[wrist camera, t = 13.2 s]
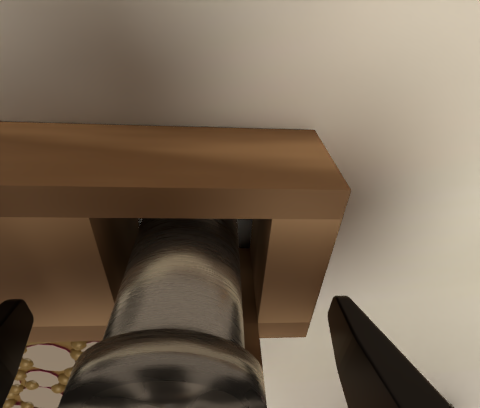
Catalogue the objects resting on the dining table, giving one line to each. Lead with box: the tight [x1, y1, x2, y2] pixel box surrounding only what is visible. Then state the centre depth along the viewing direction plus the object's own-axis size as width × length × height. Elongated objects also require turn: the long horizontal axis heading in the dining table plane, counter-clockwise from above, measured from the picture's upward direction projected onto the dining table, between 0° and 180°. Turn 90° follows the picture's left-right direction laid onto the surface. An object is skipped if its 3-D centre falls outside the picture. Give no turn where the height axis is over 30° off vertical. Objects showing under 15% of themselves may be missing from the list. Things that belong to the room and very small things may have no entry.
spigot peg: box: [58, 218, 267, 408], centre depth 10 cm, size 4×4×8 cm
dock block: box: [0, 122, 351, 370], centre depth 11 cm, size 7×13×6 cm, turn 87°
